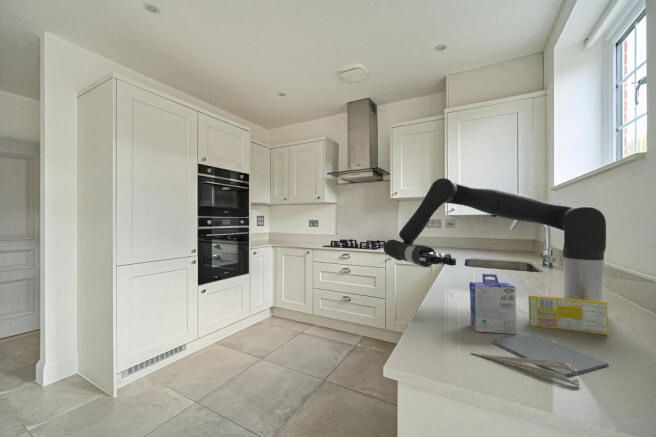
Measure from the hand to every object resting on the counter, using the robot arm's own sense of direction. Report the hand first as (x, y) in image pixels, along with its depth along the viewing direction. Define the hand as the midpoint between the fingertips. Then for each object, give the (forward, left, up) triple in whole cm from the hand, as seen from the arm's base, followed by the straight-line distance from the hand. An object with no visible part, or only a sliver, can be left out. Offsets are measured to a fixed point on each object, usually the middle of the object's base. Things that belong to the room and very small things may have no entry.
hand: (454, 262), depth 85 cm
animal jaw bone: (+11, +29, -16) cm, 35 cm away
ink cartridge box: (0, +13, -16) cm, 21 cm away
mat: (0, +27, -16) cm, 31 cm away
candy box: (-19, +19, -16) cm, 32 cm away
